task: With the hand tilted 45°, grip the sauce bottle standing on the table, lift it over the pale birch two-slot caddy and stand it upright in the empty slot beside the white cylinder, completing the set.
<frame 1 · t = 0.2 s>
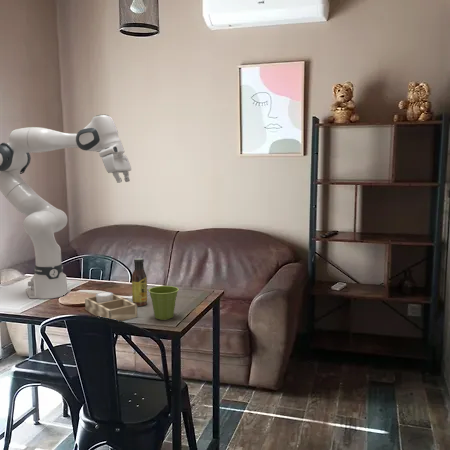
hand: (123, 182, 216), 52 cm above the table, tool tilted 20°, fingers open, 8 cm apart
plant pot: (164, 317, 198), on the table
sauce bottle: (140, 305, 214), on the table
white cylinder: (105, 310, 207), resting in caddy
caddy: (110, 313, 203), on the table
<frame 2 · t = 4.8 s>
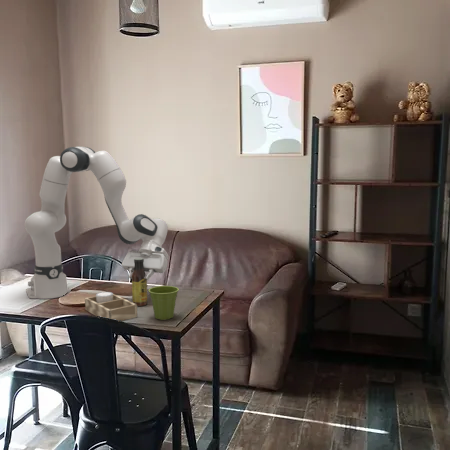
hand: (138, 278, 212), 11 cm above the table, tool tilted 45°, fingers closed on sauce bottle, 6 cm apart
sauce bottle: (140, 305, 214), on the table, touching gripper
everything else where it was.
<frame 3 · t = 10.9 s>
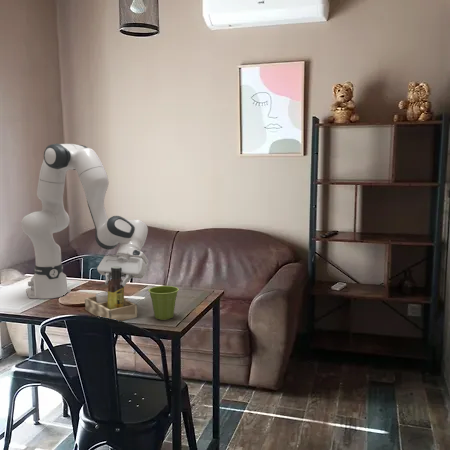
hand: (114, 284, 196), 13 cm above the table, tool tilted 45°, fingers closed on sauce bottle, 5 cm apart
sauce bottle: (115, 316, 199), resting in caddy, touching gripper
everything else where it was.
when the fingers open (13 cm above the table, at t = 11.2 s): sauce bottle stays where it is, resting in caddy.
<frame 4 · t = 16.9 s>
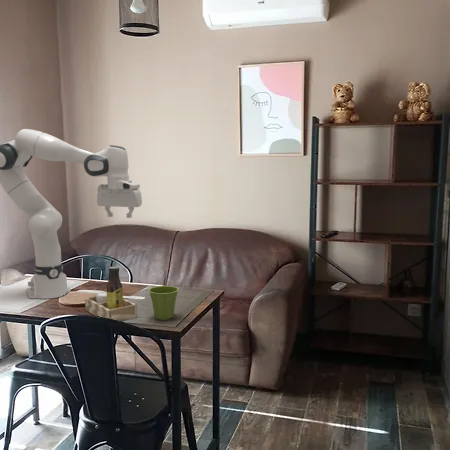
hand: (119, 217, 213), 37 cm above the table, tool pointing down, fingers open, 8 cm apart
sauce bottle: (115, 317, 199), resting in caddy
everything else where it was.
at the end: sauce bottle 0.5 cm from the target spot on the caddy, point 0.0 cm above the caddy's base; sauce bottle tilted 0°; the gripper is holding nothing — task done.
